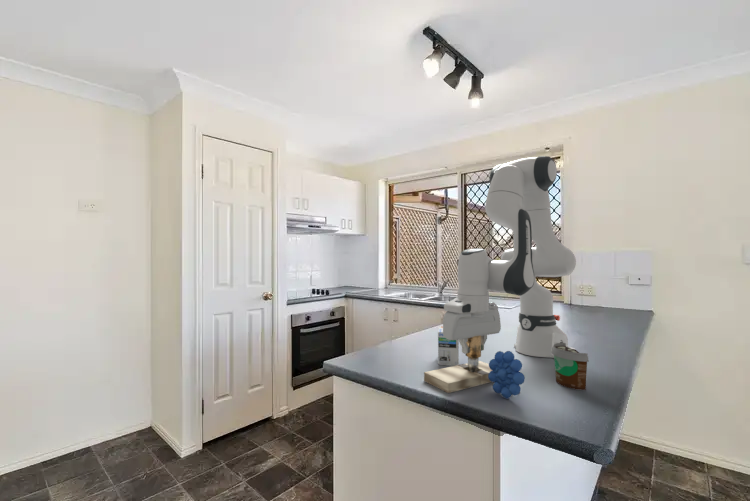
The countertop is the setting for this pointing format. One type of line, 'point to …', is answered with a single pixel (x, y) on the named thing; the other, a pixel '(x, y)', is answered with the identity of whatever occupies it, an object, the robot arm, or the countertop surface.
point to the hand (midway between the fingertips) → (473, 351)
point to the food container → (570, 366)
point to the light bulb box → (447, 350)
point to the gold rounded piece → (474, 353)
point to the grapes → (506, 374)
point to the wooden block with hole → (458, 377)
